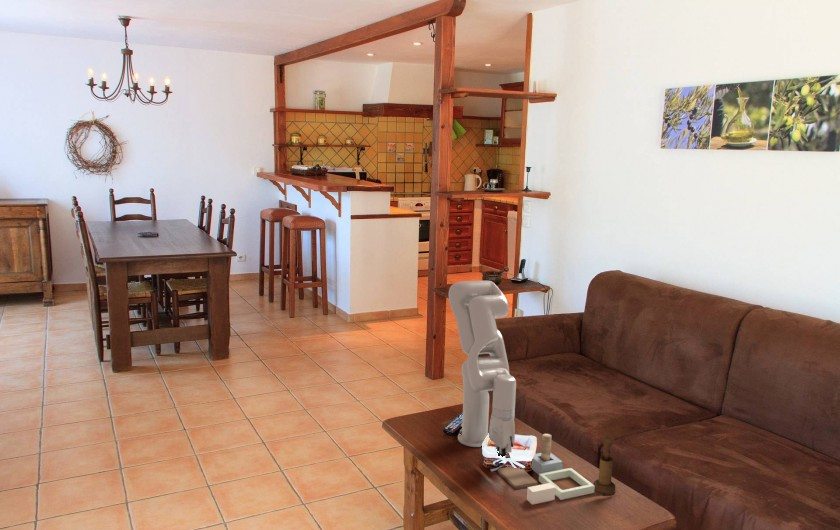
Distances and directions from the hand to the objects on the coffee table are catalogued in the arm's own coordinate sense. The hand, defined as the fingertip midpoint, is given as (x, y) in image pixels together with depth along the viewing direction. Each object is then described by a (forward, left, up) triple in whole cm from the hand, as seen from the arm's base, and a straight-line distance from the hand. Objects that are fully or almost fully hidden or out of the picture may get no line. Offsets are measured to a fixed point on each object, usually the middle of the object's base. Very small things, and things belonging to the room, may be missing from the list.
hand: (501, 462), depth 217 cm
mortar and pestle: (+25, +23, -2) cm, 34 cm away
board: (+10, 0, -2) cm, 11 cm away
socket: (+8, +12, -1) cm, 15 cm away
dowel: (+8, +12, 0) cm, 15 cm away
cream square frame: (+20, +12, -1) cm, 24 cm away
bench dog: (+24, 0, -1) cm, 24 cm away
